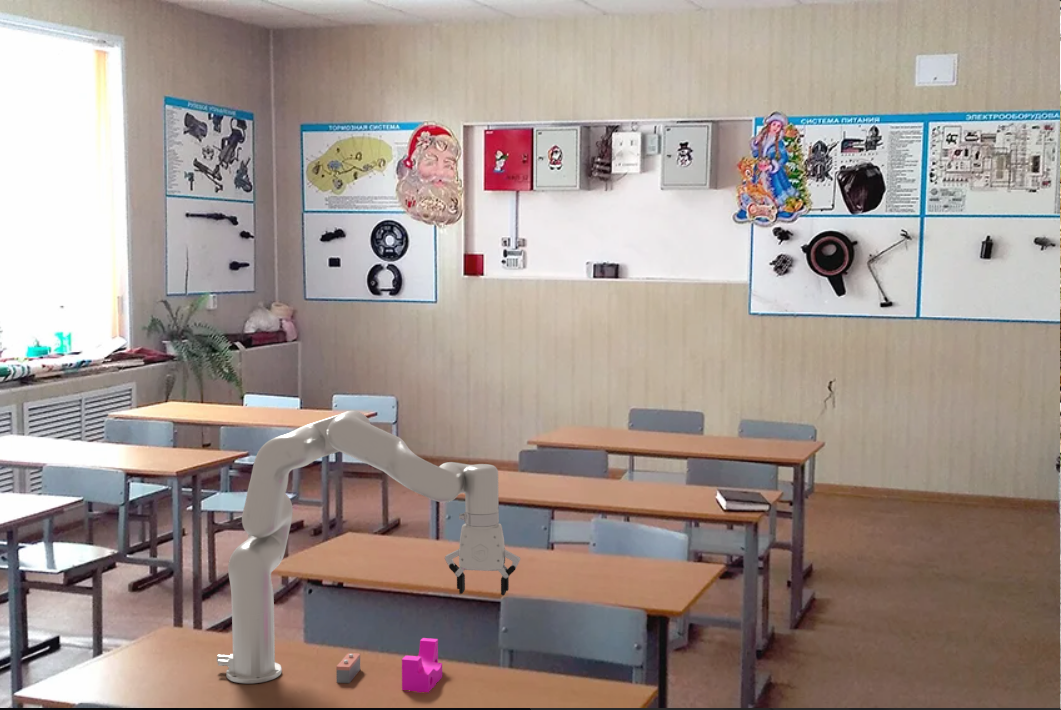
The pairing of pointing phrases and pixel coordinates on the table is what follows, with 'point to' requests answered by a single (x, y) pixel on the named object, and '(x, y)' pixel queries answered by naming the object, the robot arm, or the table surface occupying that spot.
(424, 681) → the magenta curved block
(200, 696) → the table surface
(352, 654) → the block
